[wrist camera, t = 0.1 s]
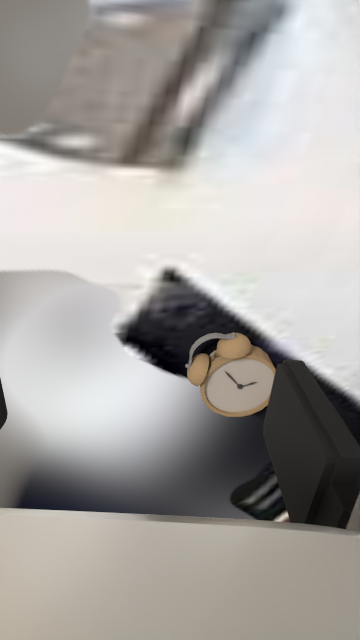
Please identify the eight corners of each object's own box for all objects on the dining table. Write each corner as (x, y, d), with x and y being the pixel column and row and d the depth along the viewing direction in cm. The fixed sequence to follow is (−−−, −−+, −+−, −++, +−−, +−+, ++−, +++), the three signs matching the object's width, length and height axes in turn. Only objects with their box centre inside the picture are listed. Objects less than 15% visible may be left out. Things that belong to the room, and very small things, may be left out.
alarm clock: (231, 429, 49) (169, 377, 41) (223, 404, 53) (166, 353, 46) (294, 391, 46) (240, 329, 38) (281, 369, 50) (230, 308, 43)
